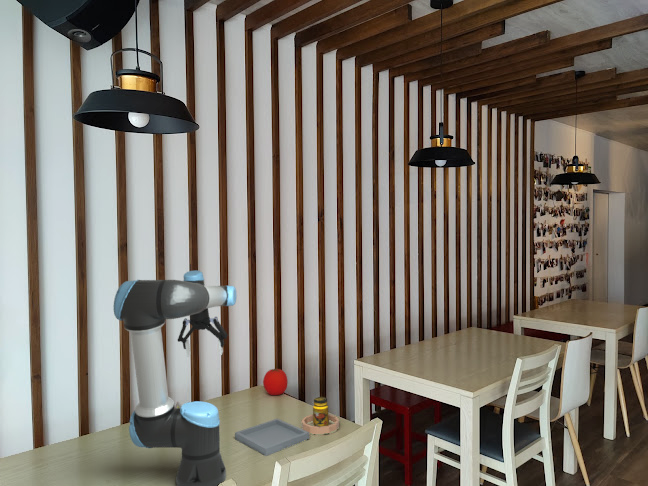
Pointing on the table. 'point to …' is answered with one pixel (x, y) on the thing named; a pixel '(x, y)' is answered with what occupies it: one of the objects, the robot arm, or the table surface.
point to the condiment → (320, 412)
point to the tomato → (275, 382)
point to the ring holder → (319, 429)
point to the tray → (271, 436)
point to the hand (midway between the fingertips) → (205, 354)
